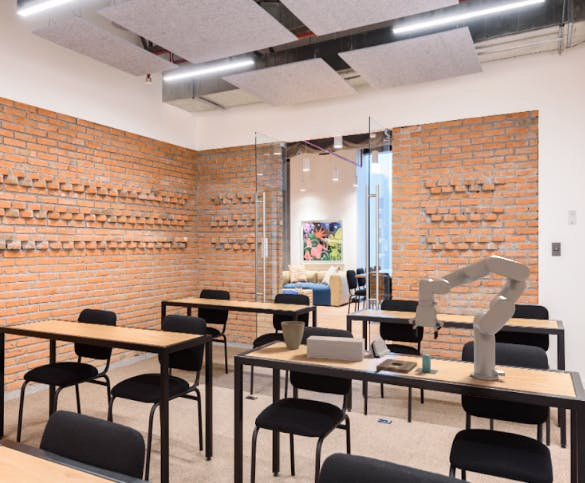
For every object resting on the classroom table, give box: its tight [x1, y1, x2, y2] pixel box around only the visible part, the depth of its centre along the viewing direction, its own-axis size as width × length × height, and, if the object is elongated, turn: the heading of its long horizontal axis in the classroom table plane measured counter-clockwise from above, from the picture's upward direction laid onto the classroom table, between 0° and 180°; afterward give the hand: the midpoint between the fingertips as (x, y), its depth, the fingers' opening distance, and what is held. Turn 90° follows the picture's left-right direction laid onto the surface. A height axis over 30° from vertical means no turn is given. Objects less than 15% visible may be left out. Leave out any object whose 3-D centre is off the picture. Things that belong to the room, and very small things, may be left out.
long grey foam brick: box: [306, 335, 366, 362], centre depth 263 cm, size 32×11×11 cm, turn 75°
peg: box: [421, 353, 432, 372], centre depth 228 cm, size 4×4×8 cm
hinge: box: [369, 338, 391, 359], centre depth 270 cm, size 17×5×10 cm, turn 147°
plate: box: [414, 367, 439, 375], centre depth 228 cm, size 10×8×2 cm
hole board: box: [376, 358, 418, 374], centre depth 235 cm, size 16×18×3 cm
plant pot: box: [280, 320, 306, 350], centre depth 286 cm, size 15×15×16 cm
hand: (425, 337), depth 228 cm, fingers open, 9 cm apart
